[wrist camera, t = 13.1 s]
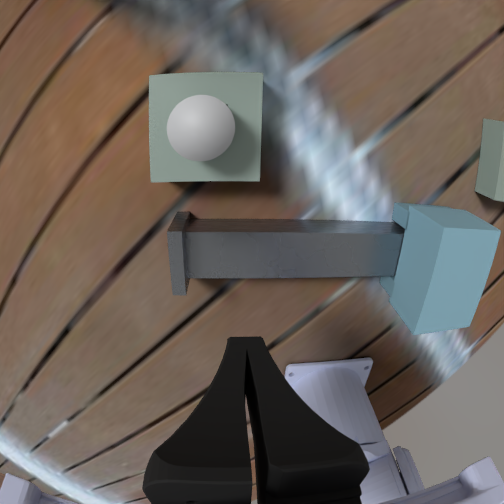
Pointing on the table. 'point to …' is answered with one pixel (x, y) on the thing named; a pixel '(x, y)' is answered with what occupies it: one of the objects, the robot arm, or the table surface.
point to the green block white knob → (205, 126)
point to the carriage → (440, 266)
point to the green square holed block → (491, 161)
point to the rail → (280, 249)
